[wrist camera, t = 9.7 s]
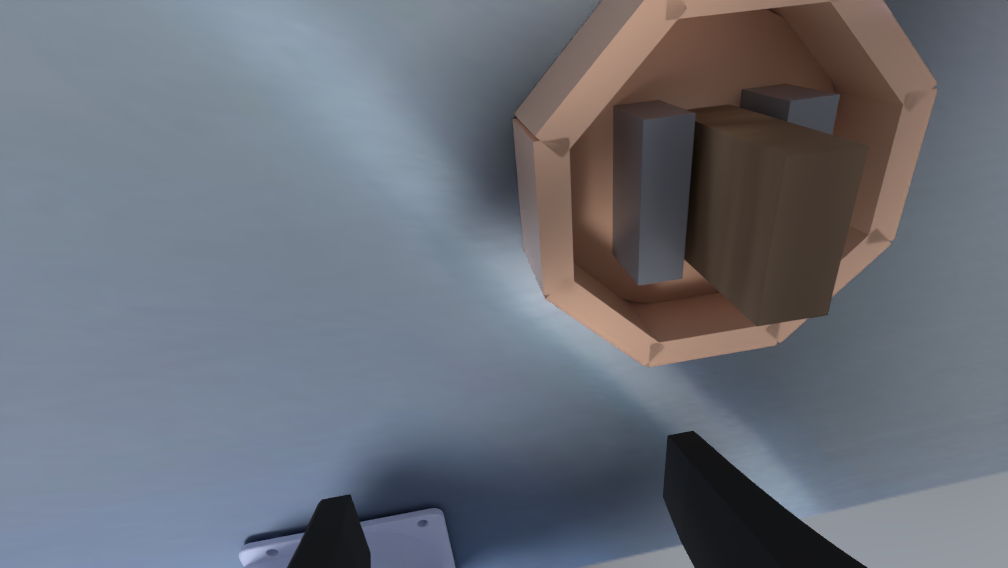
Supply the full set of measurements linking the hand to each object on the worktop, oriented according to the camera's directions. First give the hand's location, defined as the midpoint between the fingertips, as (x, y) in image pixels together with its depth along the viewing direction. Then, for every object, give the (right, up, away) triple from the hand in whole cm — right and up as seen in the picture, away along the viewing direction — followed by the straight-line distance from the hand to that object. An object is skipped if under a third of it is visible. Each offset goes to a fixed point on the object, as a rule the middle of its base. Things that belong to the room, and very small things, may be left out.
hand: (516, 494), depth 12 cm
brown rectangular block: (+6, +9, +6) cm, 12 cm away
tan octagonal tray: (+6, +9, +7) cm, 13 cm away
